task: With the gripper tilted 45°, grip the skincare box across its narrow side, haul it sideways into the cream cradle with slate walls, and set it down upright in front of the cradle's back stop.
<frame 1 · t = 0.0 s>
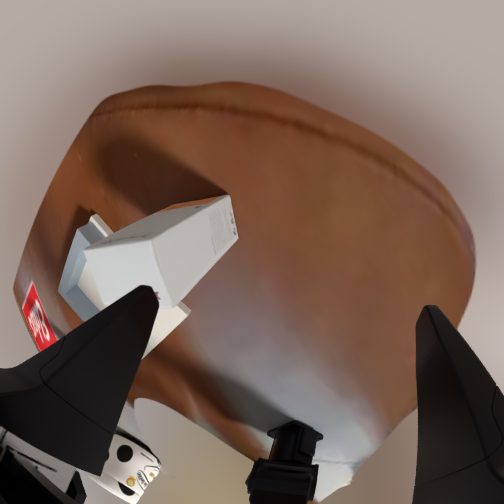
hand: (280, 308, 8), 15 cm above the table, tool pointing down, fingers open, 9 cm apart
skincare box: (205, 219, 25), on the table
stop cradle: (119, 293, 32), on the table
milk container: (138, 446, 57), on the table
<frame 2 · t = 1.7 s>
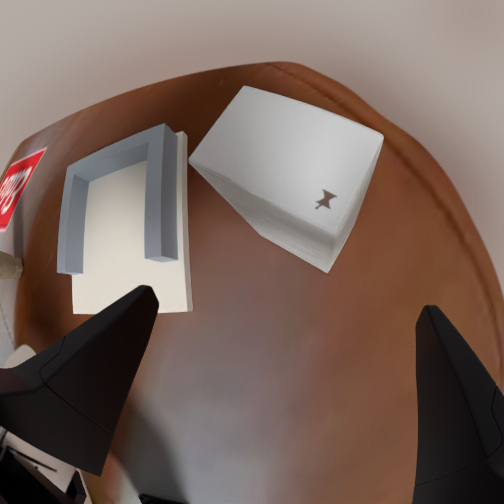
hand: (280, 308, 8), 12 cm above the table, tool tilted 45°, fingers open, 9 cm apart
handle: (20, 268, 29), on the table
skincare box: (306, 229, 20), on the table
stop cradle: (124, 228, 24), on the table
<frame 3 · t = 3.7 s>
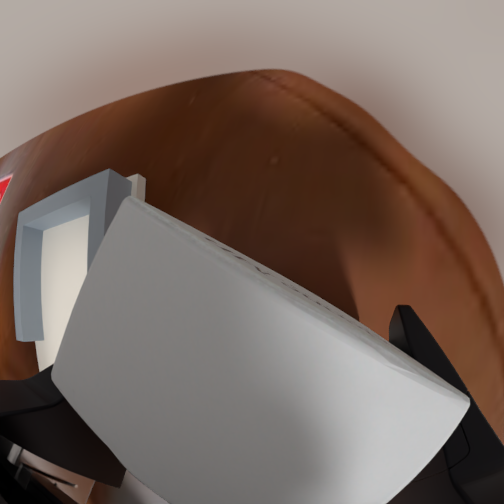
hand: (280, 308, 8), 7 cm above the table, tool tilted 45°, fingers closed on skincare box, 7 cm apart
skincare box: (296, 327, 15), on the table, touching gripper
stop cradle: (79, 295, 19), on the table
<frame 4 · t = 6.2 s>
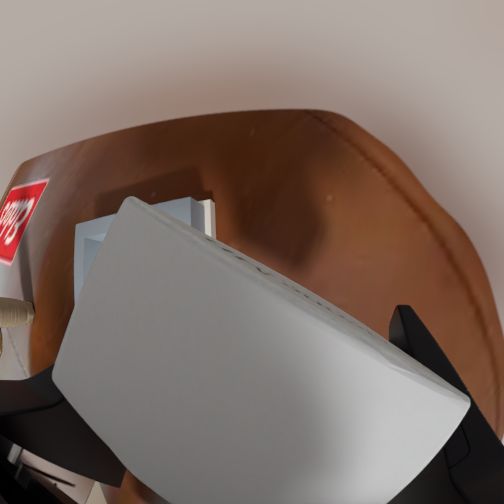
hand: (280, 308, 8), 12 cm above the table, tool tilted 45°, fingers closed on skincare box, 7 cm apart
handle: (31, 312, 28), on the table
skincare box: (296, 326, 15), point 5 cm above the table, touching gripper
stop cradle: (147, 302, 23), on the table
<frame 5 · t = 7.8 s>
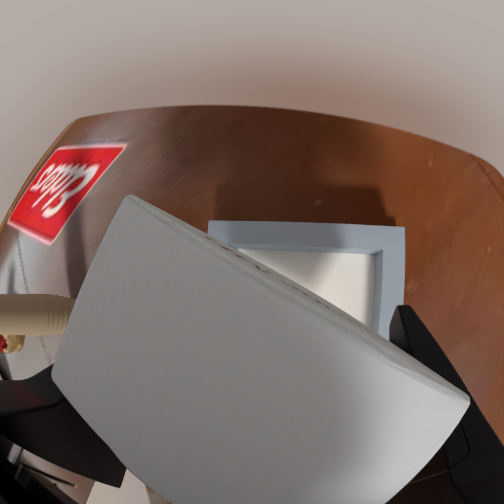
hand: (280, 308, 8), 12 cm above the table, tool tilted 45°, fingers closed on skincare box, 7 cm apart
handle: (82, 313, 25), on the table
skincare box: (296, 326, 15), point 5 cm above the table, touching gripper
stop cradle: (301, 334, 19), on the table
chocolate bunny: (19, 332, 29), on the table
when the fingers open (9 cm above the table, at t = 9.0 s): skincare box drops 1 cm, resting on stop cradle.
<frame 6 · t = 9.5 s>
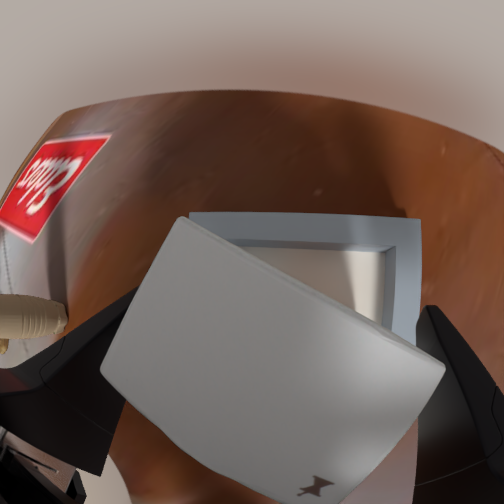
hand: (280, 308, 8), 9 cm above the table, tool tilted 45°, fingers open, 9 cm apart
handle: (62, 316, 22), on the table
skincare box: (297, 327, 16), point 1 cm above the table, touching stop cradle
stop cradle: (297, 345, 16), on the table
chocolate bunny: (4, 334, 26), on the table
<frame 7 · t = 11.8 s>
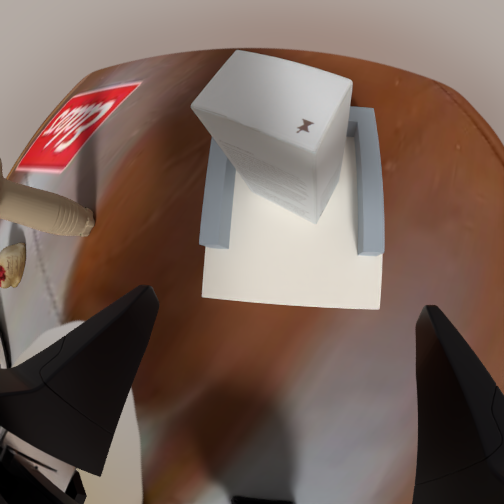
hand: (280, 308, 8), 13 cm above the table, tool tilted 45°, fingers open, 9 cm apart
handle: (88, 223, 27), on the table
skincare box: (294, 186, 21), point 1 cm above the table, touching stop cradle
stop cradle: (295, 204, 22), on the table
chocolate bunny: (19, 267, 31), on the table
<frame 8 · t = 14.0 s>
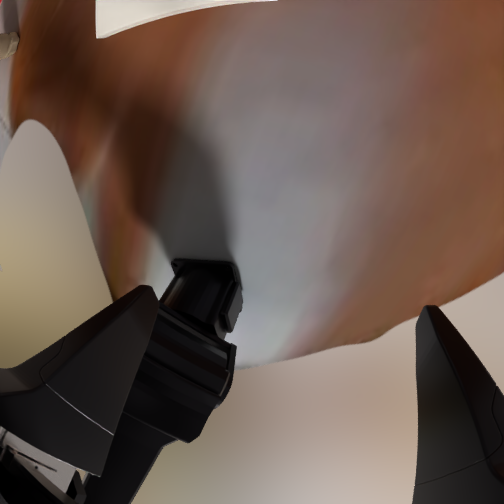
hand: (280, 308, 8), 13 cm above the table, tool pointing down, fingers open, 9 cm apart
handle: (15, 43, 14), on the table
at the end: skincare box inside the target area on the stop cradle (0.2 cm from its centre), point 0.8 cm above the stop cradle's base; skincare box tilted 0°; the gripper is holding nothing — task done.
